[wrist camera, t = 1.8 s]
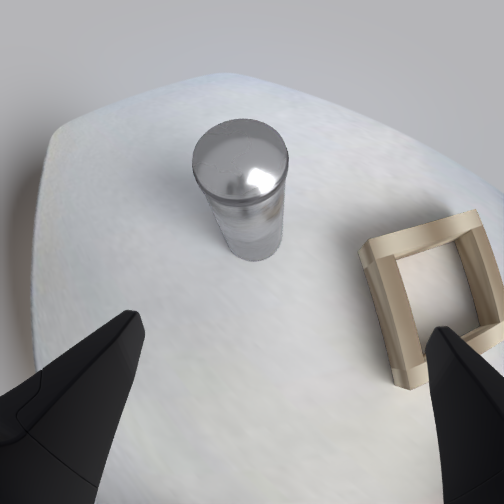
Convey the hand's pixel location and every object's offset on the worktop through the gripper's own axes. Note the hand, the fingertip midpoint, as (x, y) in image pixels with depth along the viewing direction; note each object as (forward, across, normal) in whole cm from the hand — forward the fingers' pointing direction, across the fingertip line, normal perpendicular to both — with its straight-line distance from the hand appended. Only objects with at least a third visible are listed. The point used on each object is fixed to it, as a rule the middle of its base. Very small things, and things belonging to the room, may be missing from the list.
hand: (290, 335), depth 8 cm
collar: (+12, -13, +8) cm, 19 cm away
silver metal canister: (+15, +2, +5) cm, 16 cm away
